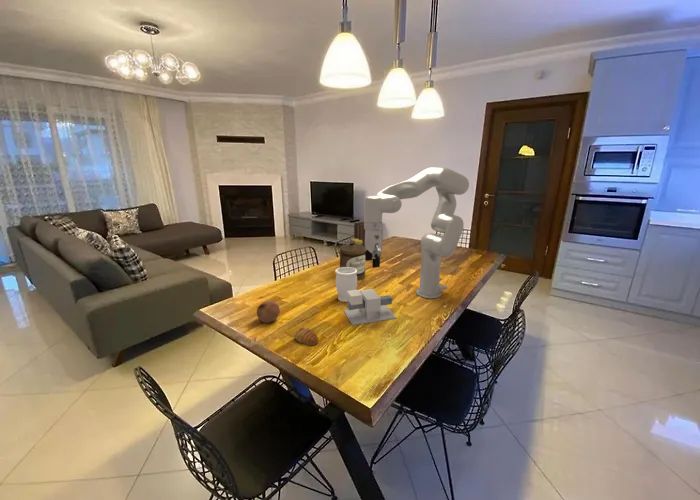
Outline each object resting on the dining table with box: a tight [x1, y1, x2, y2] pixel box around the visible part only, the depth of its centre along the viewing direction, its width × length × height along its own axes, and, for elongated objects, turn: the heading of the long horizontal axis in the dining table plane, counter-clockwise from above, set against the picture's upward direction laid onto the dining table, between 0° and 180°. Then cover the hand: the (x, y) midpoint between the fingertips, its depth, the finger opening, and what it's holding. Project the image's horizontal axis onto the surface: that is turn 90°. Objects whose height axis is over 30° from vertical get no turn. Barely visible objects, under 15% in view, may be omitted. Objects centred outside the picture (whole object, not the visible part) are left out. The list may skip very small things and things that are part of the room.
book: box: [351, 221, 376, 258], centre depth 214 cm, size 22×8×25 cm, turn 130°
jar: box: [335, 267, 358, 303], centre depth 150 cm, size 11×10×15 cm
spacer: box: [347, 289, 363, 305], centre depth 131 cm, size 5×6×4 cm
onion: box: [256, 300, 281, 324], centre depth 130 cm, size 10×9×10 cm
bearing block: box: [343, 288, 397, 326], centre depth 134 cm, size 20×13×10 cm, turn 107°
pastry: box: [294, 327, 319, 346], centre depth 116 cm, size 9×7×4 cm
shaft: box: [346, 294, 393, 310], centre depth 134 cm, size 20×3×3 cm, turn 107°
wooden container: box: [339, 239, 366, 282], centre depth 178 cm, size 15×15×22 cm
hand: (372, 263), depth 134 cm, fingers open, 9 cm apart
